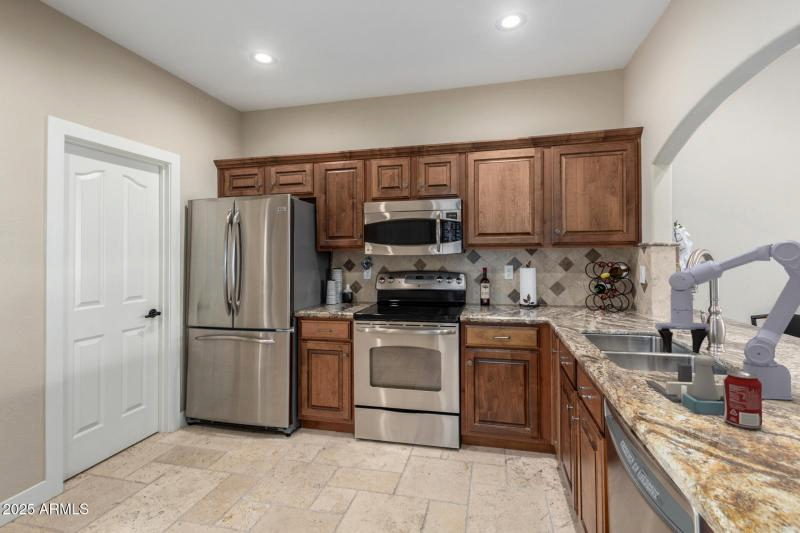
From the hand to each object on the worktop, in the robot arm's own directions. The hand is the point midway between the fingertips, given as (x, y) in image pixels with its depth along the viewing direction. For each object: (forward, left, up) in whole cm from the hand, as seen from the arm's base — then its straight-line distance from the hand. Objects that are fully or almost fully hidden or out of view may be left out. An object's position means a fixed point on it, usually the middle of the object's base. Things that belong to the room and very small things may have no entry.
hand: (682, 352), depth 123 cm
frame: (+4, +24, -9) cm, 26 cm away
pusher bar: (+4, +13, -9) cm, 16 cm away
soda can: (+3, +33, -10) cm, 34 cm away
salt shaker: (+4, +20, -10) cm, 22 cm away
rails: (+4, +12, -9) cm, 15 cm away
